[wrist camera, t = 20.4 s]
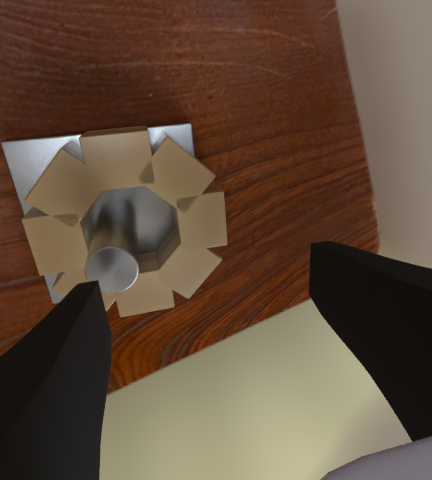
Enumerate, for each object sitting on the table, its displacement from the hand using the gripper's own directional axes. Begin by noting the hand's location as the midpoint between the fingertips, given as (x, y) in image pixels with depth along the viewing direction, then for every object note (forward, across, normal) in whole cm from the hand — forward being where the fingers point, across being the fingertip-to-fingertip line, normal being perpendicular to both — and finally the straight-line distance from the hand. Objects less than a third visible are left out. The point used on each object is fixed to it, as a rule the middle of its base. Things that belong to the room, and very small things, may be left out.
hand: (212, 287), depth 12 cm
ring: (+8, +3, 0) cm, 9 cm away
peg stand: (+9, +3, 0) cm, 10 cm away
